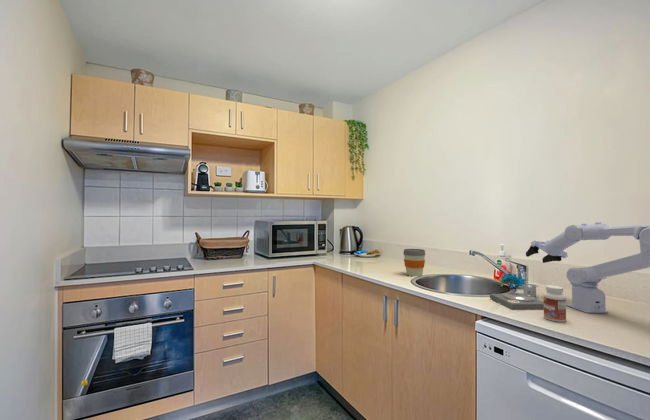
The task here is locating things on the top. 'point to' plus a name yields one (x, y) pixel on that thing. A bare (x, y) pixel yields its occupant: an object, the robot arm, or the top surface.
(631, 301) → the top surface
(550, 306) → the pill bottle
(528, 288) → the steel spacer
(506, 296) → the scale
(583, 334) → the top surface
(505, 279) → the teal lumpy piece
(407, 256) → the reusable coffee cup
